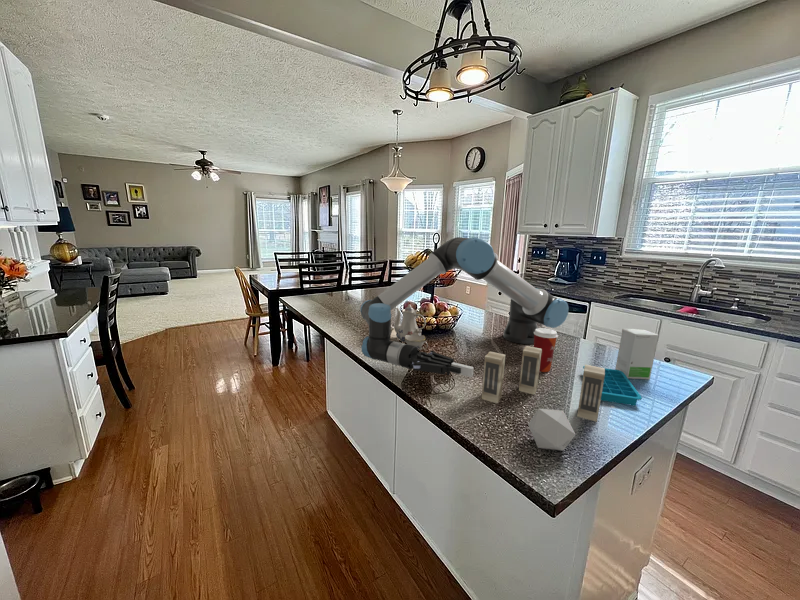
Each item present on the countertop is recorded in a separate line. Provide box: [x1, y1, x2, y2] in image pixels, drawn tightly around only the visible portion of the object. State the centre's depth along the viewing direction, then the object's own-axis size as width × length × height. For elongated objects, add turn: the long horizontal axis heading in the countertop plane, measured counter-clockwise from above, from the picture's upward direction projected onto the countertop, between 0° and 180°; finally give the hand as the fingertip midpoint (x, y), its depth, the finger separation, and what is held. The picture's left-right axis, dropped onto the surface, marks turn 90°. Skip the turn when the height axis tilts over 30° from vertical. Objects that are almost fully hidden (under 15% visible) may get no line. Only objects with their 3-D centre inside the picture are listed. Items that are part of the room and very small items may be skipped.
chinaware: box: [391, 304, 429, 351], centre depth 137 cm, size 28×17×17 cm, turn 54°
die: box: [527, 408, 576, 452], centre depth 73 cm, size 8×9×10 cm
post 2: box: [518, 345, 542, 396], centre depth 98 cm, size 5×4×13 cm
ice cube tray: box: [582, 365, 643, 406], centre depth 101 cm, size 12×20×3 cm, turn 161°
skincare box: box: [614, 328, 659, 380], centre depth 109 cm, size 8×7×16 cm
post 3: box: [576, 364, 605, 423], centre depth 85 cm, size 5×4×13 cm
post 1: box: [481, 351, 506, 404], centre depth 93 cm, size 5×4×13 cm
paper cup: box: [533, 327, 559, 373], centre depth 113 cm, size 8×8×14 cm
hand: (472, 372), depth 96 cm, fingers closed
